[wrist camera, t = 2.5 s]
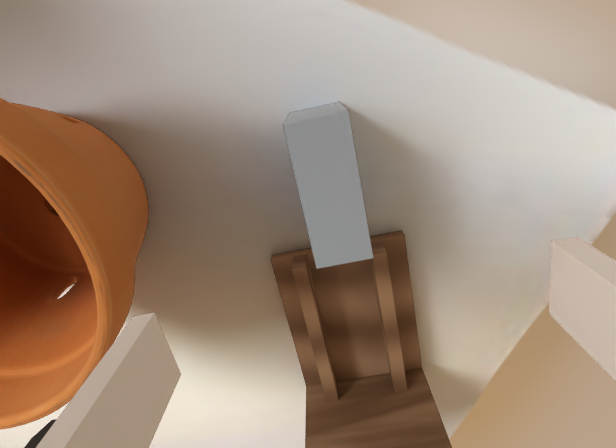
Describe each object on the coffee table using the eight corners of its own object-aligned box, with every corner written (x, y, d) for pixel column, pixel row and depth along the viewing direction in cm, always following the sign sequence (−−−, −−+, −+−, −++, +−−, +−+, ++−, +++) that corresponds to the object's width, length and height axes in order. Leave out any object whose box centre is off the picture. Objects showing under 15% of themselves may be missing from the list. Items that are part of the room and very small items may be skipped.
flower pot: (223, 138, 31) (152, 189, 17) (154, 329, 38) (64, 475, 24) (-47, 18, 28) (-400, -38, 14) (-67, 251, 35) (-314, 367, 21)
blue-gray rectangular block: (290, 112, 30) (282, 125, 23) (339, 101, 30) (348, 110, 22) (315, 225, 34) (316, 268, 26) (359, 217, 33) (373, 258, 26)
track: (272, 255, 35) (255, 330, 24) (401, 230, 34) (441, 298, 23) (310, 392, 41) (309, 499, 30) (421, 375, 40) (459, 479, 29)
